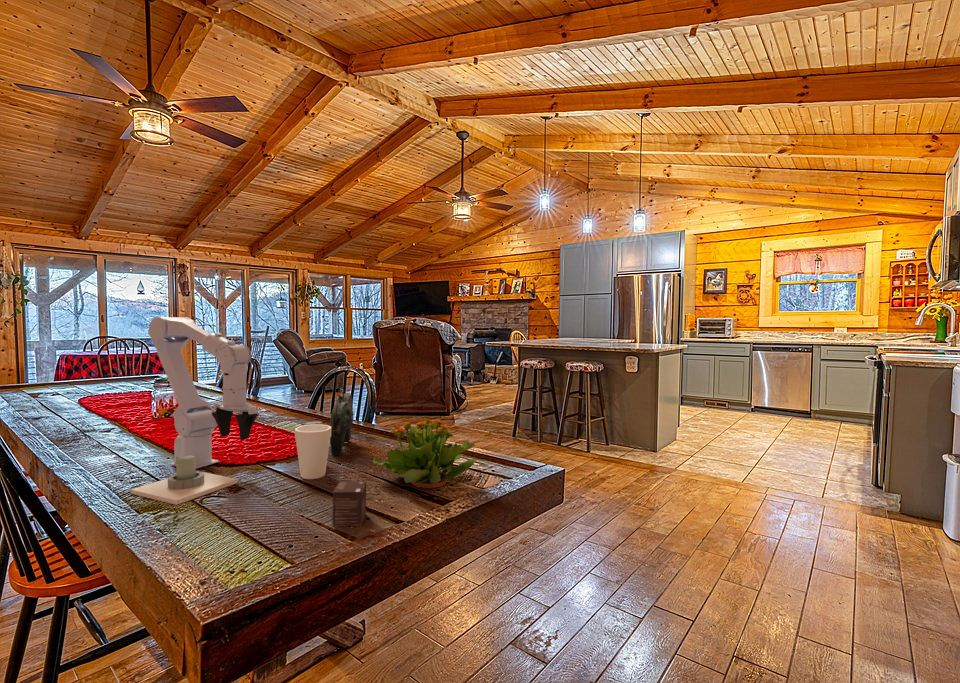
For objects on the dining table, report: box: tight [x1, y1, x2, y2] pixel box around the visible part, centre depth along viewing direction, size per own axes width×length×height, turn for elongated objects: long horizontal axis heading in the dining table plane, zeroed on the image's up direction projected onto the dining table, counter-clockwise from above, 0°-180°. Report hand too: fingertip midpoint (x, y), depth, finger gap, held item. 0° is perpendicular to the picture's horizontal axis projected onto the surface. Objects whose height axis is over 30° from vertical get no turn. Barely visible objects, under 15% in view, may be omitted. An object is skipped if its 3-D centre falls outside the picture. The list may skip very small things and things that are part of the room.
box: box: [332, 481, 367, 527], centre depth 99 cm, size 6×6×7 cm
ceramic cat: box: [329, 387, 354, 456], centre depth 155 cm, size 20×6×20 cm, turn 6°
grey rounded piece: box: [175, 456, 197, 480], centre depth 115 cm, size 4×4×6 cm
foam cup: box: [294, 423, 331, 480], centre depth 127 cm, size 10×9×13 cm
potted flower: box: [372, 418, 477, 489], centre depth 123 cm, size 25×24×18 cm
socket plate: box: [130, 470, 238, 506], centre depth 115 cm, size 16×16×3 cm
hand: (234, 437), depth 129 cm, fingers open, 7 cm apart
